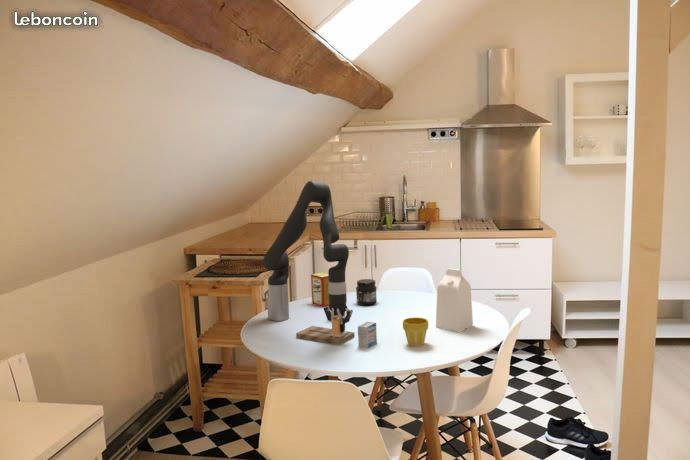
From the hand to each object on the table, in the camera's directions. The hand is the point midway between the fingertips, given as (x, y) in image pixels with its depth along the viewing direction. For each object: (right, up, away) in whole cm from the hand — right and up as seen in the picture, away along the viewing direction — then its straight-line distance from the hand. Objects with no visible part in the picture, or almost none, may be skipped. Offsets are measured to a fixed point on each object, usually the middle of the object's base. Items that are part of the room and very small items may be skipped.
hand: (338, 331), depth 257 cm
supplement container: (+14, +5, +57) cm, 59 cm away
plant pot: (+32, -4, -8) cm, 33 cm away
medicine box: (+12, -5, -7) cm, 15 cm away
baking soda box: (-9, +4, +59) cm, 60 cm away
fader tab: (0, -1, 0) cm, 1 cm away
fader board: (-6, -3, +4) cm, 8 cm away
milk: (+51, 0, +14) cm, 53 cm away
